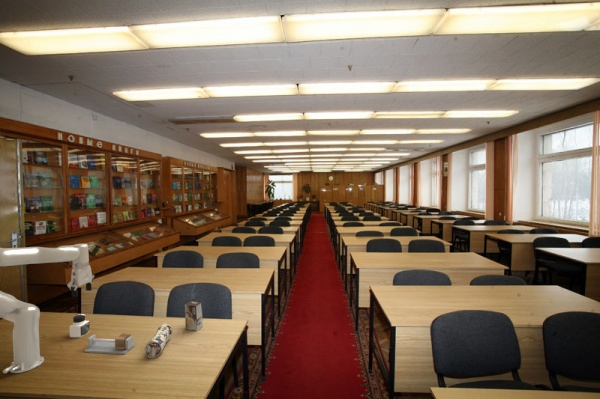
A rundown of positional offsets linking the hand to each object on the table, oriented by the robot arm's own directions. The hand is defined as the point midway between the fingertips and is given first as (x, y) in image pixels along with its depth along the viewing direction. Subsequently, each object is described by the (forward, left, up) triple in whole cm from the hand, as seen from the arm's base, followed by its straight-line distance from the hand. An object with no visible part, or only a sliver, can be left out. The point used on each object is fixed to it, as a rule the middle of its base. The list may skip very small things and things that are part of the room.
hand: (81, 293), depth 168 cm
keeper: (-7, -31, -27) cm, 41 cm away
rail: (-7, -23, -28) cm, 37 cm away
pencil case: (-3, -50, -29) cm, 58 cm away
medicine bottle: (+6, +8, -28) cm, 30 cm away
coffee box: (+20, -59, -28) cm, 69 cm away
